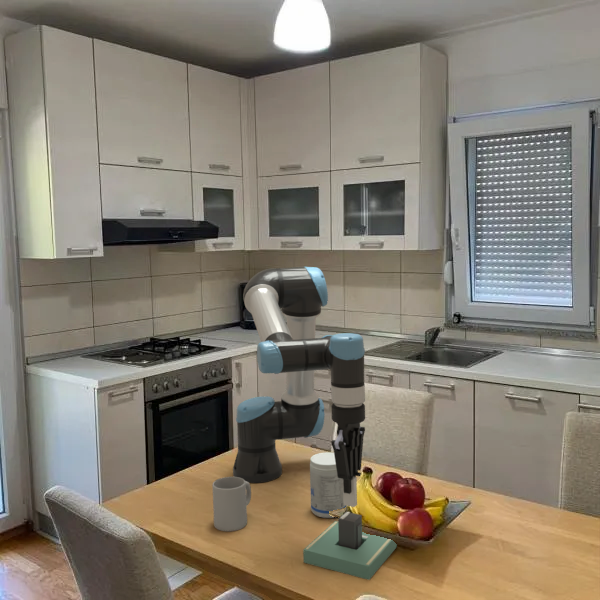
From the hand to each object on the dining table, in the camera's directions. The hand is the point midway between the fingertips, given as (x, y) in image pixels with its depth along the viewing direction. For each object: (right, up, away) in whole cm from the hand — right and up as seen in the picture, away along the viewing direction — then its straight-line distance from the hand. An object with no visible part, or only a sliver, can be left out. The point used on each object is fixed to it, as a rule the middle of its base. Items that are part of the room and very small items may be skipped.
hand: (350, 504), depth 144 cm
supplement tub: (-4, -10, +24) cm, 26 cm away
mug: (-28, -11, +20) cm, 36 cm away
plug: (0, -12, +1) cm, 12 cm away
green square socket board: (0, -12, +1) cm, 12 cm away
